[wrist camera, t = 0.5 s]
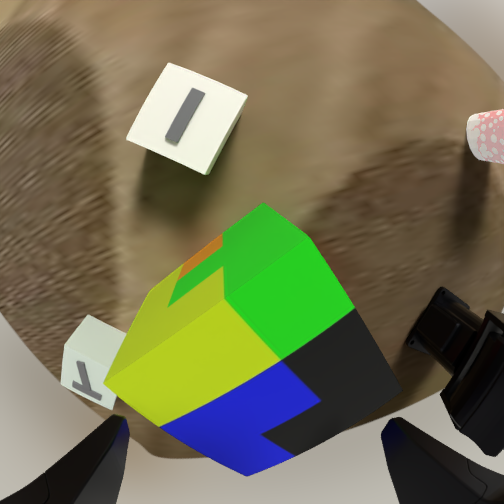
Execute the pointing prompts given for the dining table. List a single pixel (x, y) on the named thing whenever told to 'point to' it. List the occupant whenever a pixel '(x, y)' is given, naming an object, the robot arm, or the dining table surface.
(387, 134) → the dining table surface
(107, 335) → the digit block seven
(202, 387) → the puzzle toy
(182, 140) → the digit block one
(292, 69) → the dining table surface
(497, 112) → the beverage cup
